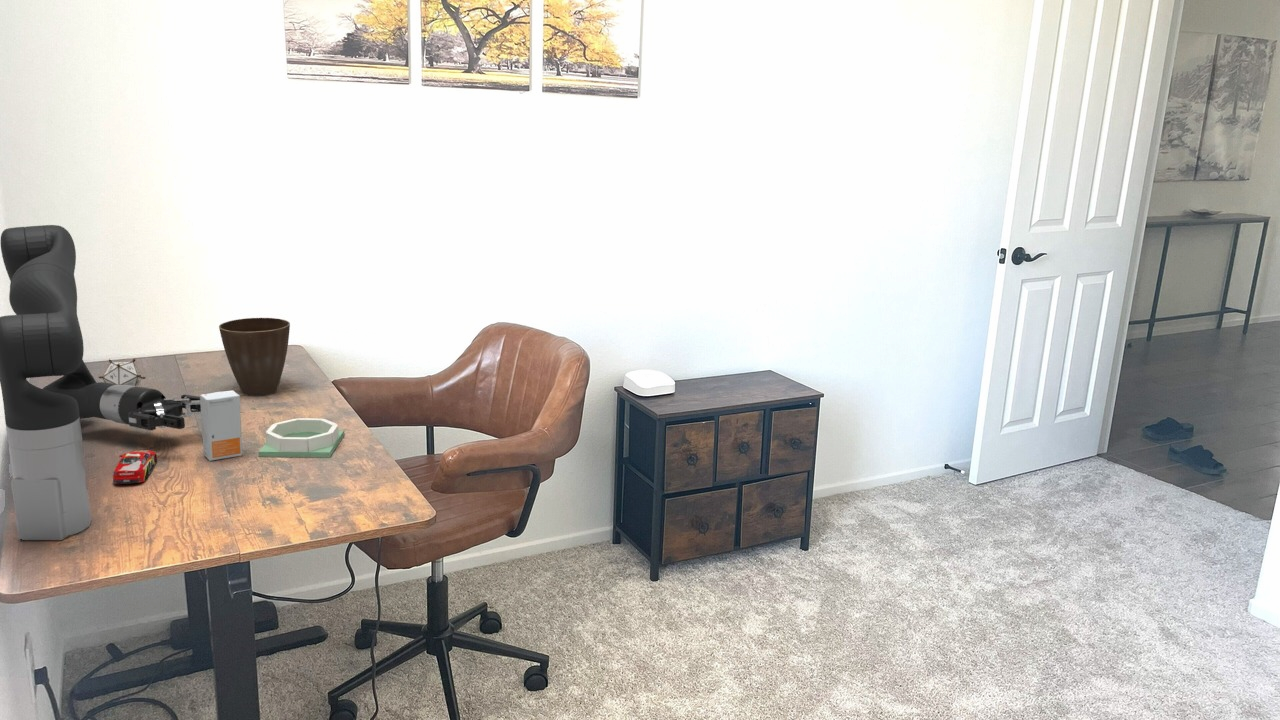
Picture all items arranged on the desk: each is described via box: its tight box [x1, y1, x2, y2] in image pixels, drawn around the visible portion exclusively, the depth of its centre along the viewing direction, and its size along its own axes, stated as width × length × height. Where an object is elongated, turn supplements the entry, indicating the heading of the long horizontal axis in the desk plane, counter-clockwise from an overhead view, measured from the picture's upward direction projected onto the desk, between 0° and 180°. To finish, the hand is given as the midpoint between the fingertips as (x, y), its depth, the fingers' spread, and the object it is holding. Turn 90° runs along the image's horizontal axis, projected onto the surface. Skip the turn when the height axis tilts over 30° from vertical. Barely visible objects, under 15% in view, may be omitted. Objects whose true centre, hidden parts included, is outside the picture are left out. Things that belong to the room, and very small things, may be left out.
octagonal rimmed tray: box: [258, 417, 345, 458], centre depth 178 cm, size 13×13×4 cm
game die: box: [98, 358, 146, 387], centre depth 204 cm, size 9×8×10 cm
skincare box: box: [199, 390, 243, 462], centre depth 170 cm, size 6×4×12 cm
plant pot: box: [218, 317, 291, 396], centre depth 209 cm, size 15×15×16 cm
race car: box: [112, 449, 158, 485], centre depth 161 cm, size 13×5×4 cm, turn 16°
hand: (200, 416), depth 171 cm, fingers open, 8 cm apart
